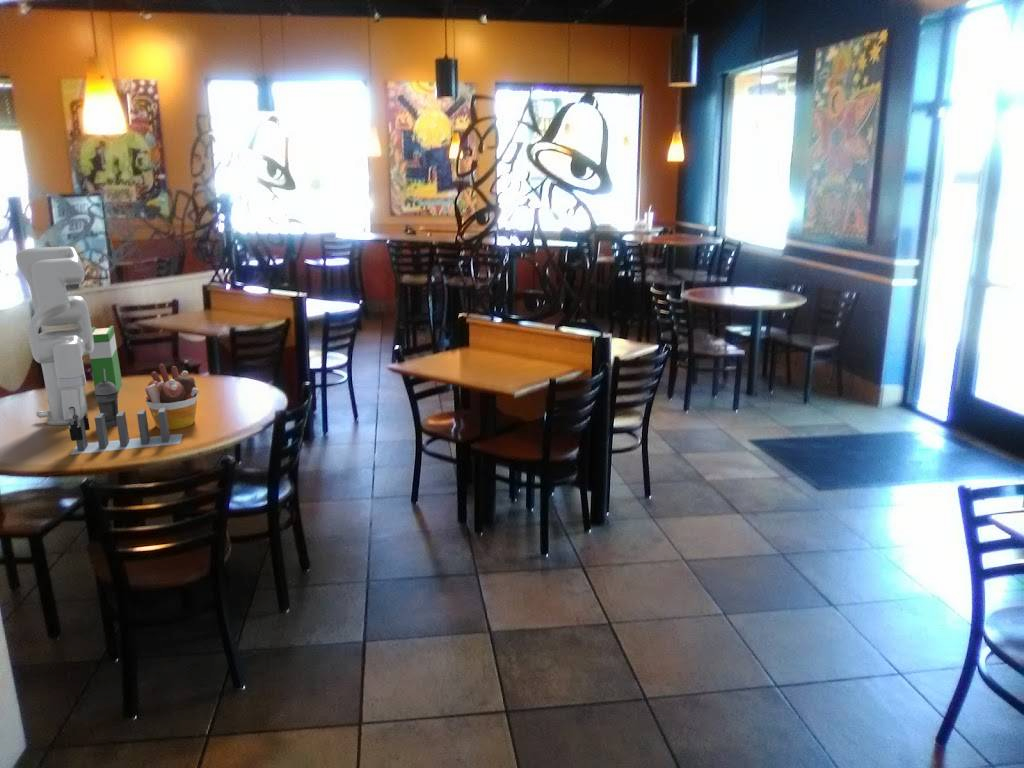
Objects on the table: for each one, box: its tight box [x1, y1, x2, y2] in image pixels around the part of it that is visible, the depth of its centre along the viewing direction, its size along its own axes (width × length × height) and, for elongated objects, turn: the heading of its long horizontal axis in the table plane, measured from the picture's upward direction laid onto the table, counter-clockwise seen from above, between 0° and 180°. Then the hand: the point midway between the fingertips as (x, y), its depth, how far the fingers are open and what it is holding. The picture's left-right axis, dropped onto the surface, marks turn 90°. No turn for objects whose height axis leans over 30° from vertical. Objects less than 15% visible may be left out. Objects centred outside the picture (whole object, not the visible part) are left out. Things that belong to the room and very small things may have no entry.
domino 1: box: [75, 417, 89, 451], centre depth 251 cm, size 2×5×10 cm, turn 16°
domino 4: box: [136, 408, 151, 445], centre depth 256 cm, size 2×5×10 cm, turn 16°
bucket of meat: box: [144, 363, 201, 431], centre depth 272 cm, size 20×16×20 cm
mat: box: [70, 433, 184, 456], centre depth 256 cm, size 31×10×1 cm, turn 106°
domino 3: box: [116, 410, 130, 447], centre depth 254 cm, size 2×5×10 cm, turn 16°
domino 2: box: [94, 412, 109, 449], centre depth 253 cm, size 2×5×10 cm, turn 16°
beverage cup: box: [94, 369, 119, 429], centre depth 273 cm, size 7×7×20 cm
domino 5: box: [158, 407, 171, 443], centre depth 257 cm, size 2×5×10 cm, turn 16°
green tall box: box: [88, 325, 123, 394], centre depth 317 cm, size 18×7×24 cm, turn 20°
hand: (80, 435), depth 251 cm, fingers open, 9 cm apart
